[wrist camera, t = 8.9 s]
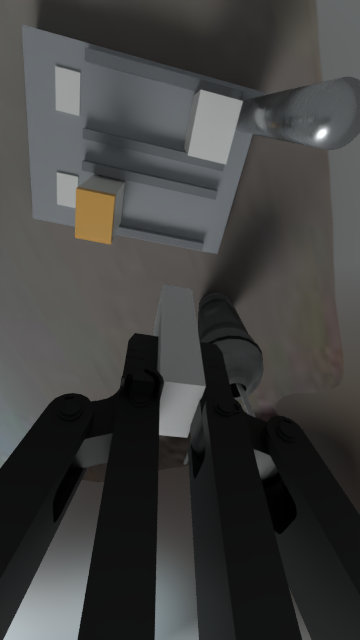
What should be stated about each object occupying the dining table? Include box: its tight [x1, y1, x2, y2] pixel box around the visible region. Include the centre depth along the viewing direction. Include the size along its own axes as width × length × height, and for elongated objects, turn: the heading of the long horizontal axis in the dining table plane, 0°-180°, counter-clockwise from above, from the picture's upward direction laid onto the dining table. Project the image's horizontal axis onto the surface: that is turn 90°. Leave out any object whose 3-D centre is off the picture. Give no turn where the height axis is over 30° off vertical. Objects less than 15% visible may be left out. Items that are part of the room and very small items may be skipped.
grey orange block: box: [75, 175, 125, 244], centre depth 28 cm, size 3×4×7 cm
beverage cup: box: [198, 292, 263, 418], centre depth 33 cm, size 7×7×20 cm
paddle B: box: [184, 90, 243, 165], centre depth 24 cm, size 3×4×7 cm
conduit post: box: [236, 77, 360, 150], centre depth 19 cm, size 2×2×18 cm
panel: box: [22, 25, 265, 254], centre depth 29 cm, size 20×15×4 cm
